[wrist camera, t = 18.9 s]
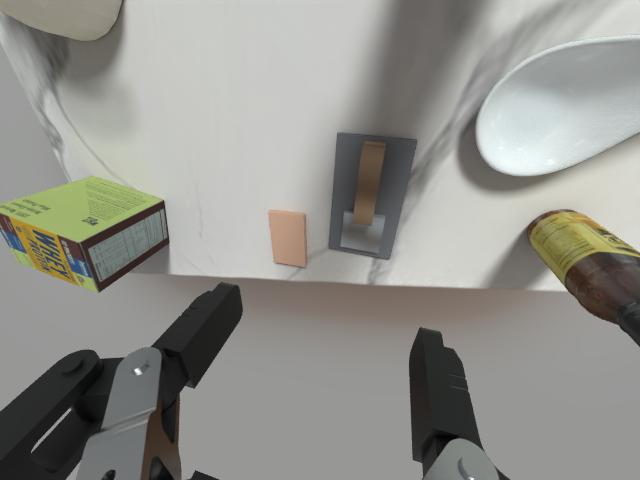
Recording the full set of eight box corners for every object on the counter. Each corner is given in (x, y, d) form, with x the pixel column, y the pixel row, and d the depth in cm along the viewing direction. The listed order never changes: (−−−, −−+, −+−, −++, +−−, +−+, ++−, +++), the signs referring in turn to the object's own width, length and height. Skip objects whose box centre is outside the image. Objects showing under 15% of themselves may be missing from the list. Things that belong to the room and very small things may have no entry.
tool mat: (338, 132, 34) (337, 133, 33) (417, 139, 32) (417, 140, 31) (329, 246, 43) (328, 248, 43) (389, 257, 42) (389, 259, 41)
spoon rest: (482, 183, 33) (501, 205, 27) (455, 90, 29) (470, 92, 23) (786, 74, 22) (926, 71, 17) (813, -97, 18) (1012, -182, 12)
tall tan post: (352, 139, 33) (347, 145, 30) (400, 144, 32) (400, 151, 29) (341, 243, 42) (336, 256, 38) (378, 249, 41) (377, 264, 37)
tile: (268, 212, 42) (273, 262, 47) (303, 216, 40) (305, 267, 46) (272, 208, 43) (277, 257, 48) (306, 212, 42) (307, 262, 47)
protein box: (92, 174, 49) (-16, 207, 36) (164, 199, 47) (78, 242, 35) (106, 220, 55) (16, 263, 42) (170, 244, 53) (98, 295, 40)
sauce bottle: (592, 235, 32) (792, 390, 16) (535, 256, 36) (653, 404, 19) (573, 194, 31) (773, 322, 14) (514, 220, 34) (624, 349, 17)
